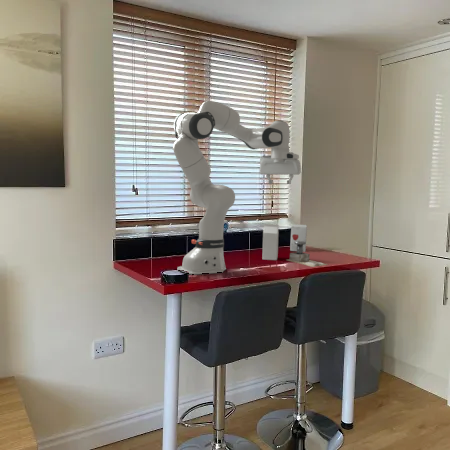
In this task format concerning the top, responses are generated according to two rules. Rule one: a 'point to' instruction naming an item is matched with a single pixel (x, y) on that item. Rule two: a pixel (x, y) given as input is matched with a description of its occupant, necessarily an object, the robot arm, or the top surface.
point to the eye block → (304, 259)
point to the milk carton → (270, 242)
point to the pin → (300, 246)
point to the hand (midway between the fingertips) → (279, 183)
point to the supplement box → (298, 236)
